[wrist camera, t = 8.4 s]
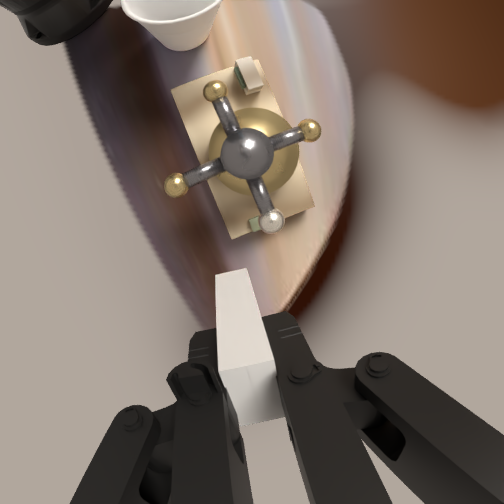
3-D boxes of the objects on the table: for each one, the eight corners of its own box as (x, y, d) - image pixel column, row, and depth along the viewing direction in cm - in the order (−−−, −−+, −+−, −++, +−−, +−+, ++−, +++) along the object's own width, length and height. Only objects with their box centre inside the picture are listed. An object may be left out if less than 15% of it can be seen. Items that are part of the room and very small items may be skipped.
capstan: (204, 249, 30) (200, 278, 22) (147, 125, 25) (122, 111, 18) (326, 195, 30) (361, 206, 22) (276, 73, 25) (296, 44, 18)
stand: (173, 95, 27) (166, 83, 23) (254, 66, 27) (261, 51, 23) (230, 234, 33) (232, 245, 28) (307, 203, 33) (322, 209, 28)
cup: (197, 77, 27) (188, 38, 16) (130, 50, 24) (99, 11, 14) (240, 20, 25) (251, -29, 14) (175, -4, 22) (164, -53, 12)
